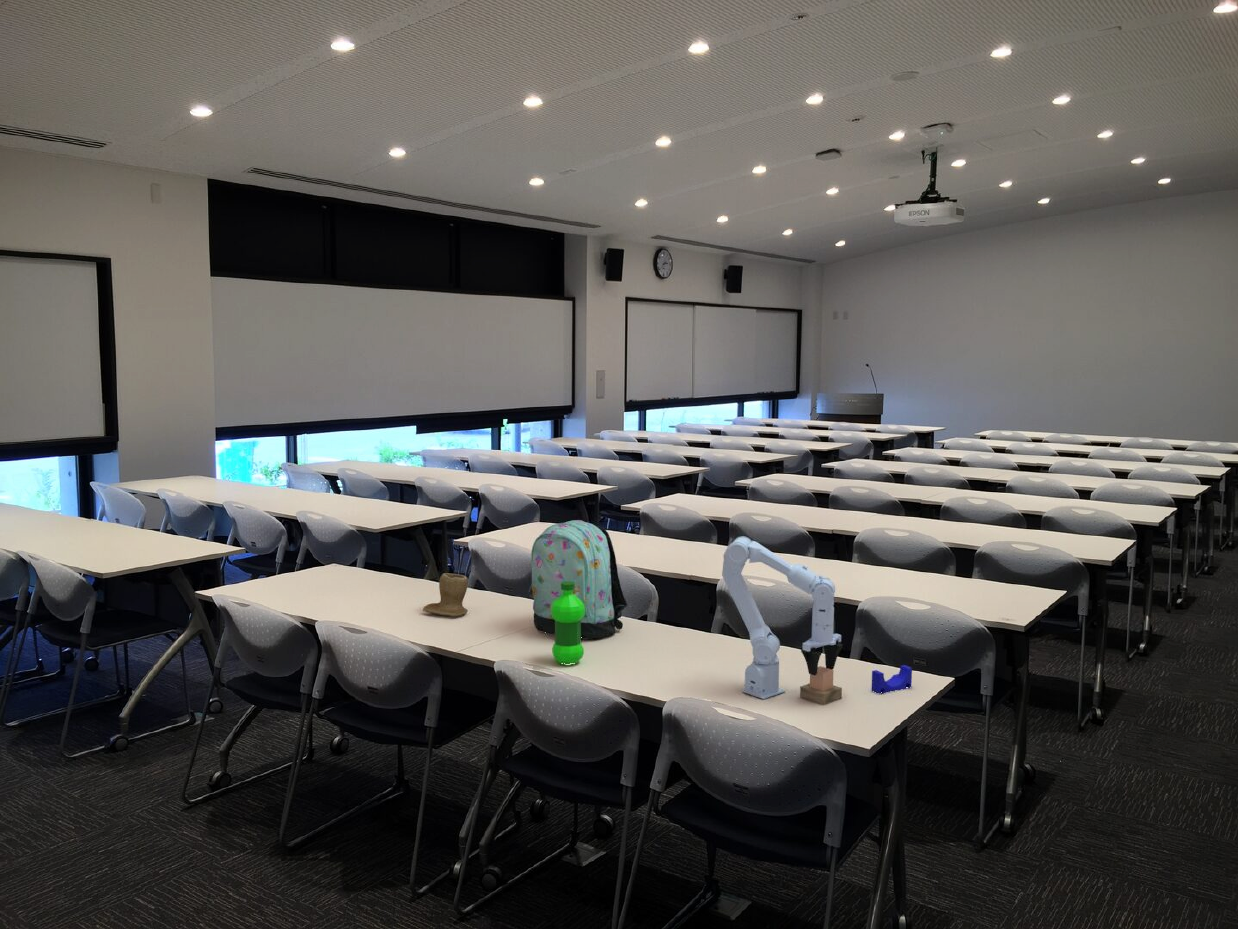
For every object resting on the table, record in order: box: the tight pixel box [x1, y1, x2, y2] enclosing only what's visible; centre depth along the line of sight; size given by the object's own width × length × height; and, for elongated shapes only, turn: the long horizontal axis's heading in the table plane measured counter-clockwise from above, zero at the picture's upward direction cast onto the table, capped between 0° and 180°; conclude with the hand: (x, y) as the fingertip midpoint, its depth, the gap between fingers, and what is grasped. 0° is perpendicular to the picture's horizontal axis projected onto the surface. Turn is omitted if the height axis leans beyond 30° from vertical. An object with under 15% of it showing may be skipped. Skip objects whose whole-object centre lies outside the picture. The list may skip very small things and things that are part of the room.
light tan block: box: [809, 665, 834, 691], centre depth 261 cm, size 4×4×5 cm
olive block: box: [799, 682, 843, 706], centre depth 262 cm, size 8×8×3 cm
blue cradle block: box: [871, 664, 913, 694], centre depth 269 cm, size 12×4×6 cm, turn 116°
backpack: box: [527, 519, 628, 640], centre depth 321 cm, size 32×24×39 cm
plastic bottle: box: [551, 582, 585, 664], centre depth 290 cm, size 10×10×25 cm
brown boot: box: [422, 572, 469, 617], centre depth 346 cm, size 15×12×15 cm
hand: (821, 671), depth 261 cm, fingers open, 7 cm apart
